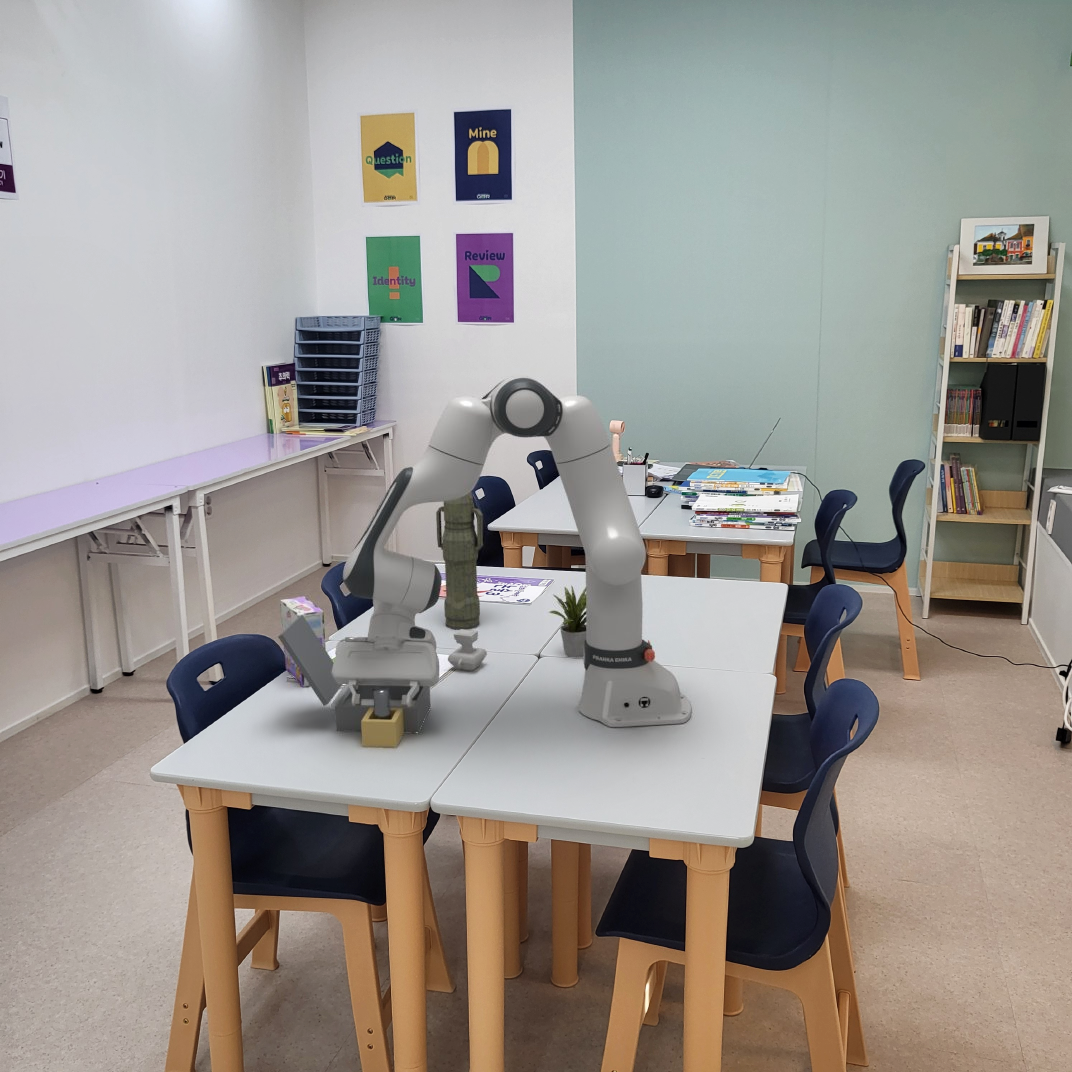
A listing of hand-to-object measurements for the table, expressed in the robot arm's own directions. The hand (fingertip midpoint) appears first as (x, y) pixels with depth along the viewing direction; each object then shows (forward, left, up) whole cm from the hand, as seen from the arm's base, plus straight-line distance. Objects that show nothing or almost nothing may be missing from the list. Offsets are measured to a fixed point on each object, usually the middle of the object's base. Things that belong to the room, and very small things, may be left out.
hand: (381, 705), depth 184 cm
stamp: (-10, -39, -7) cm, 41 cm away
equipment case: (+2, -10, -7) cm, 12 cm away
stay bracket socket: (0, -1, -7) cm, 7 cm away
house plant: (-34, -48, -7) cm, 59 cm away
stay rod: (0, -1, -7) cm, 7 cm away
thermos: (-4, -69, -7) cm, 69 cm away
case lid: (+15, -10, +5) cm, 19 cm away
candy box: (+25, -32, -7) cm, 41 cm away
